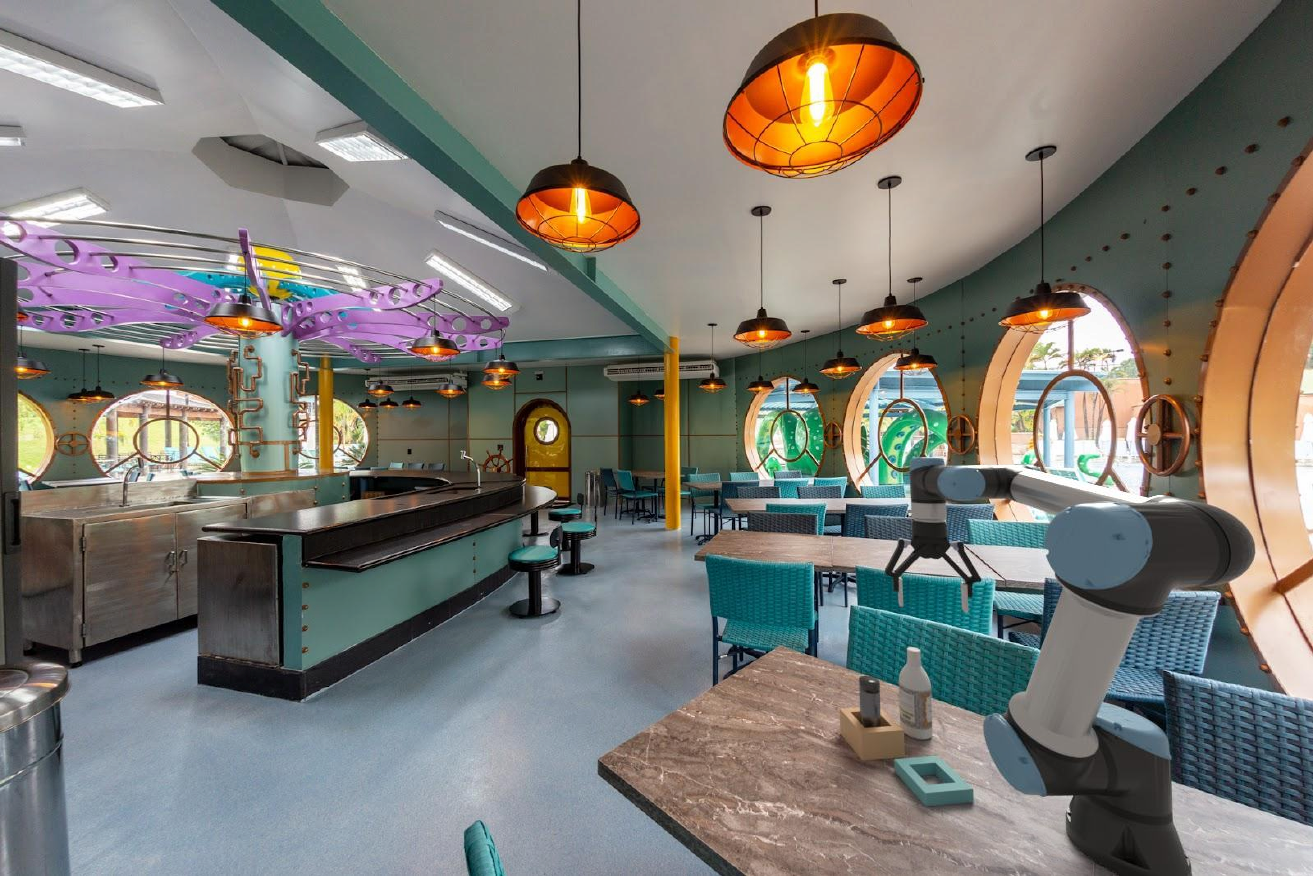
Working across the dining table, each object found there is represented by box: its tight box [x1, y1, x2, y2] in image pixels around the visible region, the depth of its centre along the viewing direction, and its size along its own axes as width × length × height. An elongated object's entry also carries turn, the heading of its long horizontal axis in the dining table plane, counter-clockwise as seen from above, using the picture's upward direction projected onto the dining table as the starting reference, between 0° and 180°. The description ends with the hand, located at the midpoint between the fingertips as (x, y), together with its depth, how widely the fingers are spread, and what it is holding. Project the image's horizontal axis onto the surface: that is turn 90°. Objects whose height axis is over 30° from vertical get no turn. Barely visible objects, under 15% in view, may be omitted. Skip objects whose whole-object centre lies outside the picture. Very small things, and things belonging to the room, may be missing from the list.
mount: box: [893, 755, 975, 807], centre depth 95 cm, size 10×10×2 cm
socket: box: [839, 706, 906, 761], centre depth 109 cm, size 10×10×6 cm
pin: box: [858, 675, 881, 728], centre depth 109 cm, size 4×4×14 cm
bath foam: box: [898, 646, 934, 740], centre depth 114 cm, size 7×7×20 cm
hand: (932, 608), depth 112 cm, fingers open, 13 cm apart
